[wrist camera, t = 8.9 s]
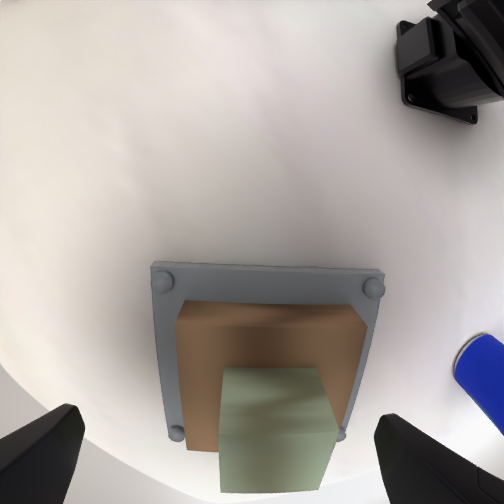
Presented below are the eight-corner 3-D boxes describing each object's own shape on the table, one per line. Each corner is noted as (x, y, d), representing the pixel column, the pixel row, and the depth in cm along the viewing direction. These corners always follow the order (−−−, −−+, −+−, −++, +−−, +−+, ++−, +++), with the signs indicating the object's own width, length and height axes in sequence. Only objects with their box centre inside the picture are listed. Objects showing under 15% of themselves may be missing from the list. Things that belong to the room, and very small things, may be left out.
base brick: (350, 304, 18) (367, 326, 15) (325, 421, 21) (333, 449, 18) (184, 300, 18) (174, 322, 15) (192, 421, 20) (186, 449, 17)
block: (316, 367, 16) (339, 430, 11) (304, 428, 17) (317, 489, 12) (223, 366, 16) (218, 433, 11) (224, 429, 17) (220, 492, 12)
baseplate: (378, 269, 19) (390, 278, 17) (340, 428, 22) (346, 442, 20) (154, 261, 18) (146, 270, 17) (170, 426, 22) (167, 442, 20)
